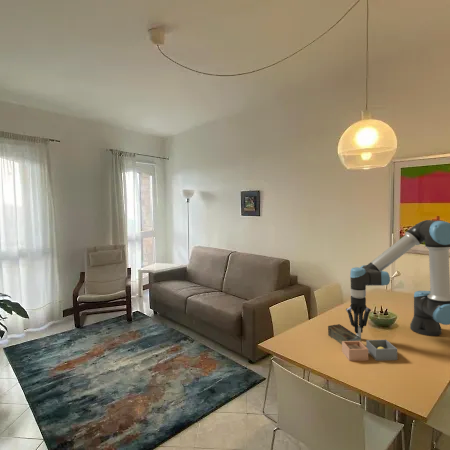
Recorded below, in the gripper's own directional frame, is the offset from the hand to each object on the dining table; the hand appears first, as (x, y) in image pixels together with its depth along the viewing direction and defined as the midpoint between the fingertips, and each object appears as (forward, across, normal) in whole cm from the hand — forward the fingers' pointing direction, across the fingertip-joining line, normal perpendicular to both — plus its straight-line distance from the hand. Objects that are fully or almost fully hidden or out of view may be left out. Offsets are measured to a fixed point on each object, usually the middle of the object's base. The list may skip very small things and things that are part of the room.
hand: (358, 338), depth 166 cm
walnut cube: (0, +10, +18) cm, 20 cm away
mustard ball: (0, -3, +18) cm, 18 cm away
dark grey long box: (+1, +9, +1) cm, 9 cm away
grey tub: (+1, -3, +18) cm, 18 cm away
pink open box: (+1, +10, +18) cm, 20 cm away
